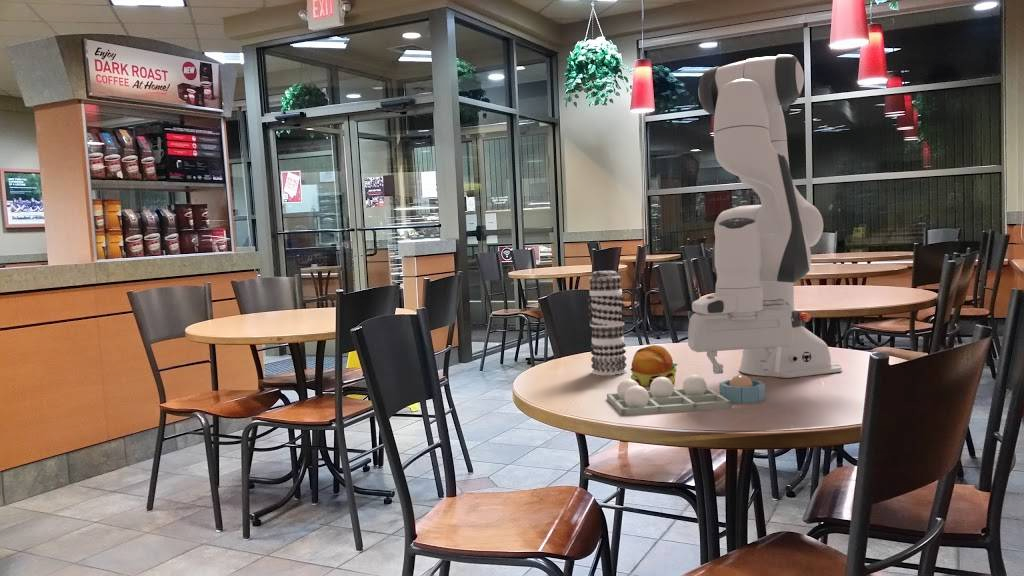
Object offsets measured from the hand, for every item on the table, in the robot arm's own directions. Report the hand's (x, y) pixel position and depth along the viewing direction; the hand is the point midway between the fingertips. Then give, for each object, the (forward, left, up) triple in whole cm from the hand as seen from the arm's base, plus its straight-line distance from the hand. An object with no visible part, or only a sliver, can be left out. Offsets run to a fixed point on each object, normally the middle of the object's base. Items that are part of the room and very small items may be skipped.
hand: (741, 371), depth 149 cm
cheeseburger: (+12, -20, -6) cm, 24 cm away
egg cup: (0, 0, -6) cm, 6 cm away
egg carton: (+15, 0, -6) cm, 16 cm away
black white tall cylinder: (+19, -39, -6) cm, 44 cm away
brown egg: (0, 0, -5) cm, 5 cm away
